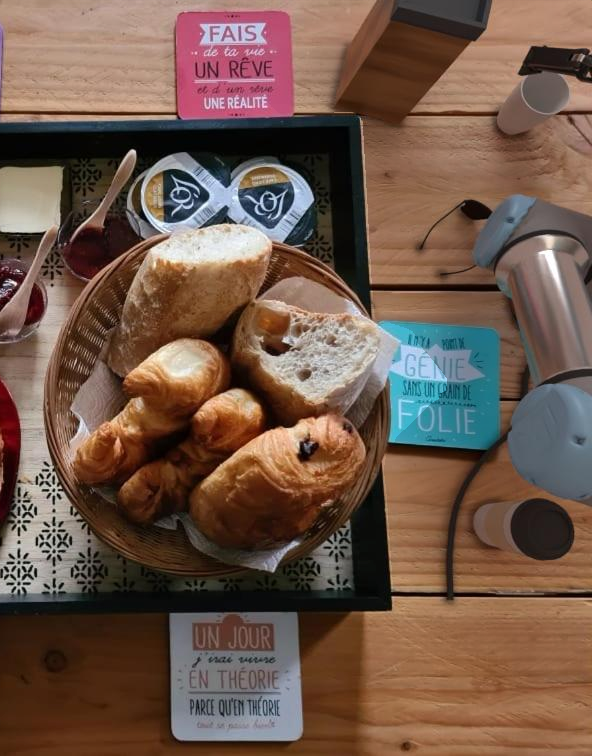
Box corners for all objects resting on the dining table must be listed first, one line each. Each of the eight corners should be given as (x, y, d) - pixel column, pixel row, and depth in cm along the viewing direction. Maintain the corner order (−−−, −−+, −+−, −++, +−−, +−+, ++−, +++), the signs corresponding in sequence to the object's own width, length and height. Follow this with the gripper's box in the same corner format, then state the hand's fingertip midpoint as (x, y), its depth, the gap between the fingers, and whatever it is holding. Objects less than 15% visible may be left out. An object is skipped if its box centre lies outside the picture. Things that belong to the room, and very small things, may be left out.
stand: (399, 124, 130) (473, 39, 105) (333, 107, 130) (391, 18, 105) (413, 64, 131) (489, -34, 107) (348, 47, 132) (409, -54, 107)
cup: (535, 143, 129) (572, 114, 119) (489, 142, 129) (522, 113, 119) (531, 100, 131) (568, 68, 121) (486, 99, 131) (519, 67, 121)
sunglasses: (503, 248, 126) (517, 240, 121) (445, 288, 127) (457, 282, 122) (464, 200, 128) (477, 190, 123) (407, 240, 128) (417, 232, 123)
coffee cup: (485, 562, 119) (542, 573, 104) (455, 512, 120) (508, 516, 105) (532, 536, 119) (595, 543, 105) (502, 487, 121) (561, 487, 106)
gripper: (754, 76, 94) (651, 85, 114) (574, 7, 93) (502, 28, 113) (718, 134, 96) (623, 133, 116) (542, 67, 96) (478, 78, 116)
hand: (564, 81), depth 115 cm, fingers open, 13 cm apart
